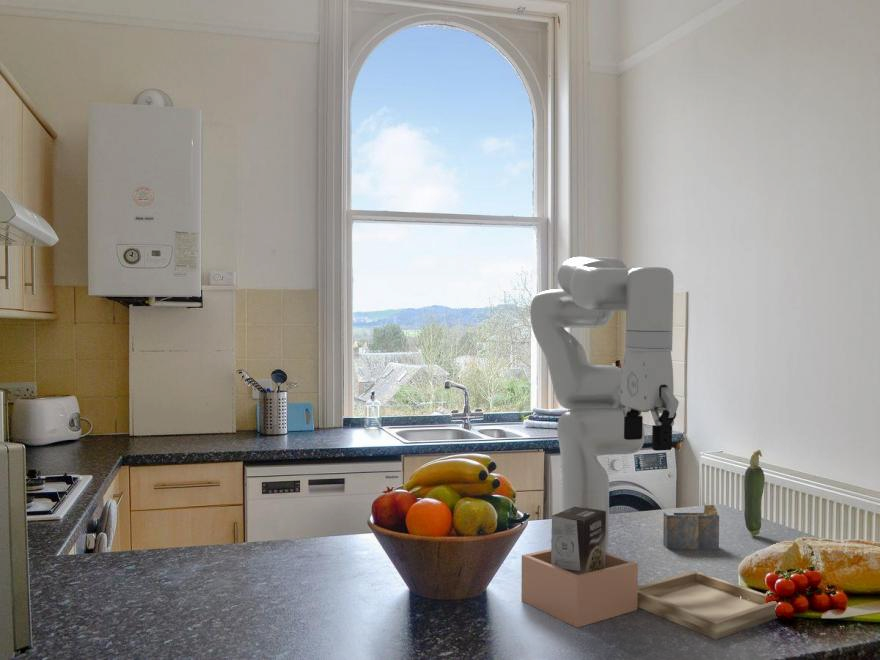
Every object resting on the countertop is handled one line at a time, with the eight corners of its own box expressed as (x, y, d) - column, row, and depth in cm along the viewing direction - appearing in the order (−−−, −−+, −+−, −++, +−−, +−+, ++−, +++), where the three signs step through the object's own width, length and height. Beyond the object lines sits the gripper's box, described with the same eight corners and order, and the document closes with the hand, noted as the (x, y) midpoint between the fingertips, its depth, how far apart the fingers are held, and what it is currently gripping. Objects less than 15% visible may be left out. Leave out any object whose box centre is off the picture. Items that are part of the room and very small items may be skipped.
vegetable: (739, 533, 175) (740, 448, 175) (754, 531, 176) (755, 447, 176) (752, 538, 171) (753, 451, 170) (768, 537, 172) (769, 450, 172)
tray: (628, 603, 130) (628, 588, 130) (695, 584, 140) (695, 570, 140) (716, 639, 115) (716, 623, 115) (784, 615, 125) (784, 600, 125)
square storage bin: (521, 600, 131) (521, 555, 131) (579, 585, 139) (580, 542, 139) (577, 627, 120) (577, 577, 120) (637, 609, 127) (637, 563, 127)
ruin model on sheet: (733, 538, 172) (734, 496, 172) (763, 561, 156) (764, 514, 156) (625, 537, 172) (625, 495, 172) (643, 560, 156) (643, 513, 156)
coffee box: (583, 617, 124) (584, 520, 124) (549, 608, 128) (549, 514, 128) (607, 601, 131) (607, 510, 131) (573, 593, 135) (574, 504, 135)
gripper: (605, 339, 131) (603, 436, 132) (654, 344, 114) (652, 455, 115) (644, 339, 133) (642, 435, 134) (698, 344, 116) (695, 453, 117)
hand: (646, 444), depth 124 cm, fingers open, 9 cm apart
